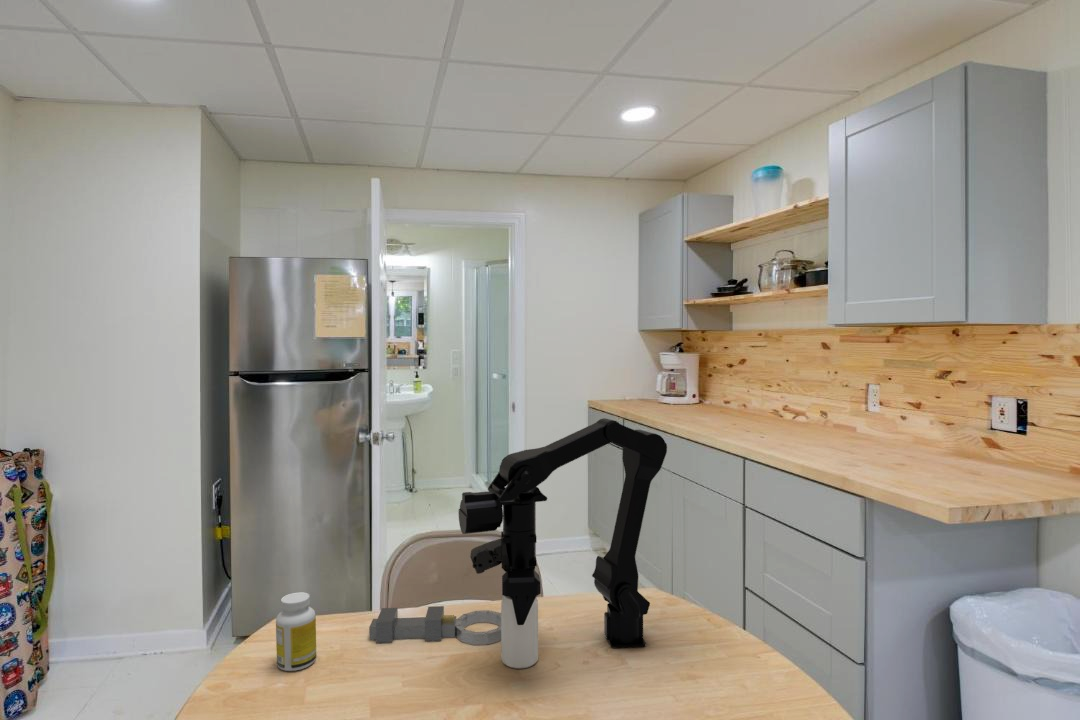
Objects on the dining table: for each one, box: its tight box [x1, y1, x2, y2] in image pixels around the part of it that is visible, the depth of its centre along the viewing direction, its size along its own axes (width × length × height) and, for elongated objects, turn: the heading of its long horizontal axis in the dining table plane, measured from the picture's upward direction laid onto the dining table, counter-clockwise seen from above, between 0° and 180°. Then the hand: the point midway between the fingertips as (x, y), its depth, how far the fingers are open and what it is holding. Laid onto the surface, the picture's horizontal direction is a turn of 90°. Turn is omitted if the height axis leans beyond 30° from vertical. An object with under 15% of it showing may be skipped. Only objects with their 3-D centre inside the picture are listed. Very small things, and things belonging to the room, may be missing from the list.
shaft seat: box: [368, 605, 501, 646], centre depth 117 cm, size 26×10×4 cm, turn 94°
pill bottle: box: [275, 591, 317, 672], centre depth 107 cm, size 6×6×12 cm
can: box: [500, 596, 539, 670], centre depth 107 cm, size 6×6×12 cm
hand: (519, 615), depth 107 cm, fingers open, 7 cm apart
